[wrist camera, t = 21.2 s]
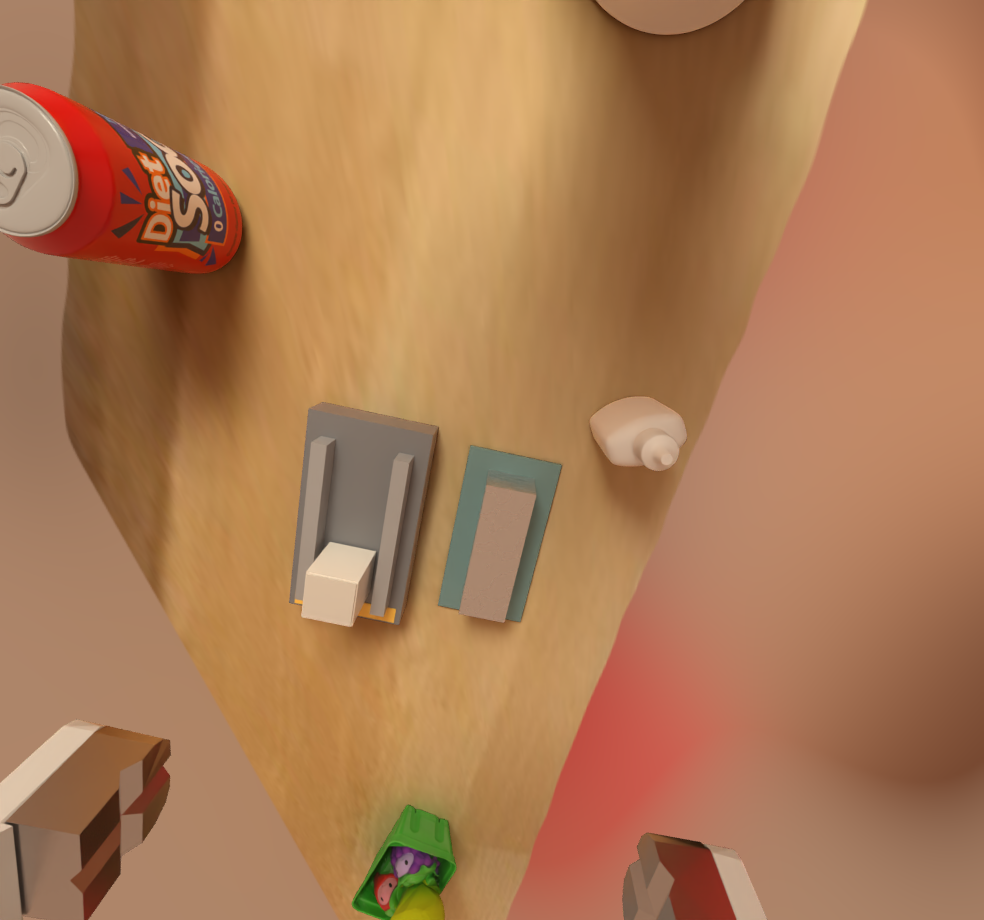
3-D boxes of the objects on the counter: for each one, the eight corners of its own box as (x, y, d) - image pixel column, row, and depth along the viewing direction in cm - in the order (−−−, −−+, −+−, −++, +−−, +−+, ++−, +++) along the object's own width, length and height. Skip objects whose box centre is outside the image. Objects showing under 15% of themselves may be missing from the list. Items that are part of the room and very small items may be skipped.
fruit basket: (401, 791, 53) (373, 912, 43) (473, 820, 54) (464, 946, 44) (362, 856, 57) (327, 984, 46) (431, 883, 57) (413, 1015, 47)
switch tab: (329, 541, 41) (305, 573, 36) (376, 551, 41) (357, 583, 36) (324, 582, 42) (300, 617, 38) (369, 591, 43) (351, 628, 38)
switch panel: (322, 402, 41) (297, 413, 36) (438, 426, 41) (429, 441, 37) (302, 585, 46) (278, 616, 42) (405, 606, 47) (393, 639, 42)
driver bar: (488, 469, 42) (486, 484, 38) (534, 478, 42) (536, 495, 38) (463, 588, 45) (458, 613, 42) (504, 597, 46) (504, 623, 42)
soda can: (130, 228, 38) (-104, 174, 23) (179, 138, 36) (-42, 20, 22) (216, 296, 39) (44, 285, 25) (268, 213, 37) (115, 149, 23)
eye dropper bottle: (649, 448, 41) (702, 500, 30) (584, 438, 41) (612, 486, 30) (662, 398, 40) (723, 432, 29) (595, 387, 40) (629, 416, 28)
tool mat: (470, 445, 42) (470, 446, 41) (561, 464, 42) (561, 465, 42) (438, 603, 46) (438, 605, 46) (520, 620, 47) (520, 622, 46)
